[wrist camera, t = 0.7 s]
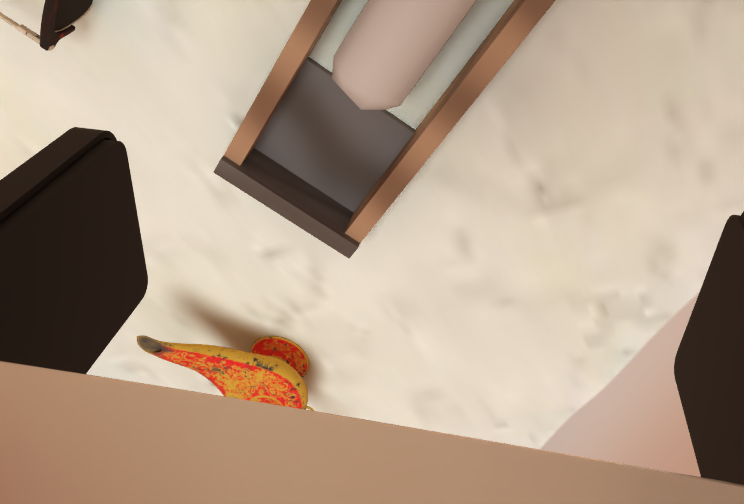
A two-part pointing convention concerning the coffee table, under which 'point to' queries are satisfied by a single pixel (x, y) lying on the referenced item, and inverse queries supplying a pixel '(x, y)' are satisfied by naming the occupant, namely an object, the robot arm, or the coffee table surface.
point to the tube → (393, 48)
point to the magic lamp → (244, 368)
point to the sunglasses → (55, 21)
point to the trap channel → (348, 133)
